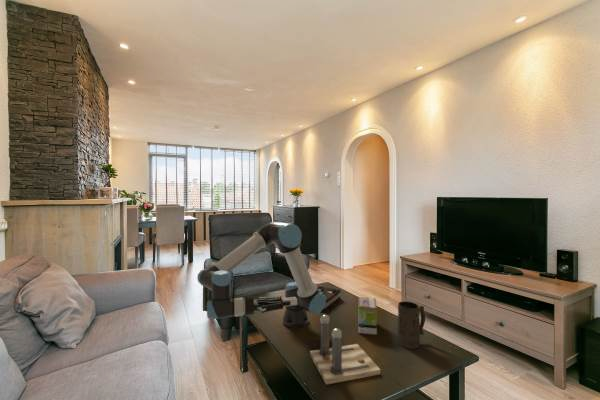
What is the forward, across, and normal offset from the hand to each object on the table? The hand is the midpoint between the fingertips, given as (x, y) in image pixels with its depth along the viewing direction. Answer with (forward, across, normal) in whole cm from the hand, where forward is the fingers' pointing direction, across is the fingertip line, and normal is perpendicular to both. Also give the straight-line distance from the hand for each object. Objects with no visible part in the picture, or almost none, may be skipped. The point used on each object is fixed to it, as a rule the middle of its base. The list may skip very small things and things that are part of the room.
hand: (296, 300), depth 129 cm
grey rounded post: (+12, +18, -24) cm, 32 cm away
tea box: (+45, -17, -26) cm, 55 cm away
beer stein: (+59, +3, -26) cm, 65 cm away
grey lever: (+12, +4, -24) cm, 27 cm away
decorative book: (+34, -60, -27) cm, 74 cm away
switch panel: (+18, +11, -26) cm, 34 cm away
